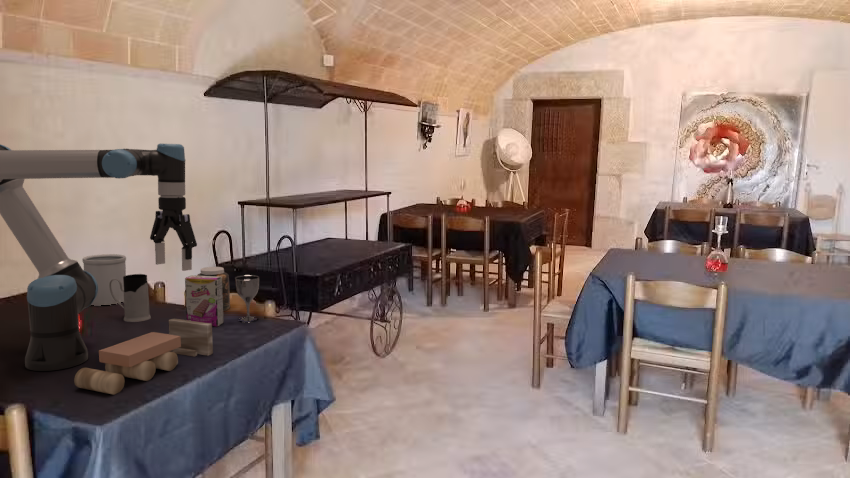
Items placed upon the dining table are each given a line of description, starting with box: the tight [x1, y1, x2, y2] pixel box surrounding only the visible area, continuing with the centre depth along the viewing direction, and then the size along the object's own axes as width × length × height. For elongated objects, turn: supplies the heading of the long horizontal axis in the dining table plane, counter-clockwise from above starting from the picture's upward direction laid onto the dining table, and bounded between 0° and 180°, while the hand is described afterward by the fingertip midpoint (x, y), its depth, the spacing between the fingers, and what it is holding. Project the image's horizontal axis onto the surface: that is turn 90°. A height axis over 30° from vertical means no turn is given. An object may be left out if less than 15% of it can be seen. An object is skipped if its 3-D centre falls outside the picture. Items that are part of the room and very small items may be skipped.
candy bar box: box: [184, 274, 224, 327], centre depth 214 cm, size 11×5×16 cm, turn 84°
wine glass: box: [234, 274, 260, 321], centre depth 221 cm, size 8×8×15 cm
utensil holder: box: [81, 253, 127, 307], centre depth 242 cm, size 15×15×18 cm
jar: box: [196, 266, 231, 312], centre depth 235 cm, size 12×12×15 cm
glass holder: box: [109, 273, 152, 323], centre depth 221 cm, size 9×14×15 cm, turn 81°
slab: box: [98, 331, 181, 367], centre depth 169 cm, size 18×10×3 cm, turn 159°
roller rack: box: [104, 317, 214, 382], centre depth 176 cm, size 26×14×9 cm, turn 159°
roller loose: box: [73, 367, 125, 396], centre depth 157 cm, size 5×11×5 cm, turn 69°
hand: (173, 267), depth 191 cm, fingers open, 13 cm apart
